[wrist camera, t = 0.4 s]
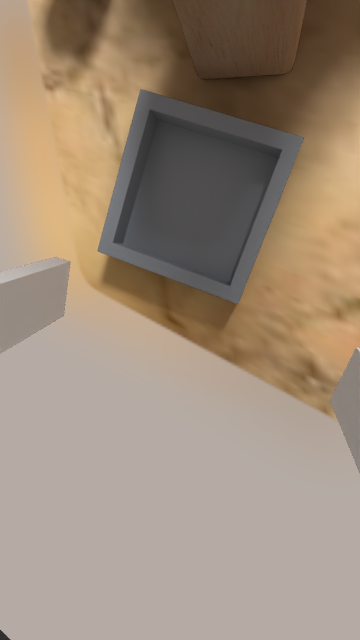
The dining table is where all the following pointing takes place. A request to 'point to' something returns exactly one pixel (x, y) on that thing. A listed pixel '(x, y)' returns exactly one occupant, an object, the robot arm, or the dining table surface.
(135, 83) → the dining table surface
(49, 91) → the dining table surface
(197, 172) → the gray square tray
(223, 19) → the wooden block
